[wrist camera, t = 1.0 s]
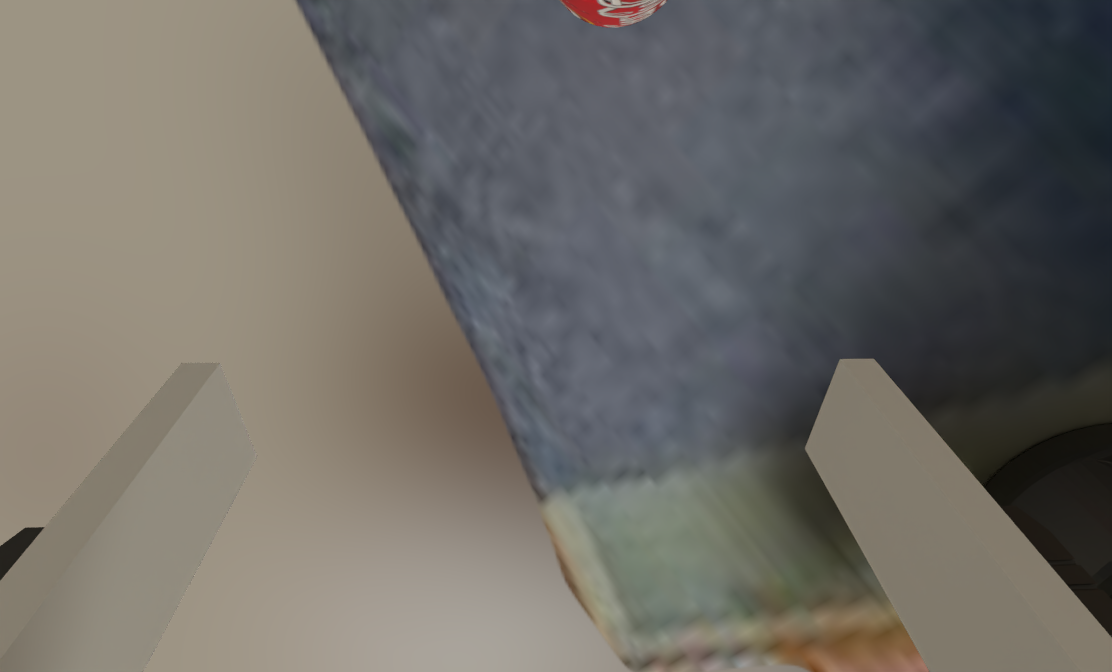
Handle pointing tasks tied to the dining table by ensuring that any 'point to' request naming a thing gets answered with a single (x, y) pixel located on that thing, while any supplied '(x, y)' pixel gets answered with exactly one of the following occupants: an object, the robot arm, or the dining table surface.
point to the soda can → (612, 11)
